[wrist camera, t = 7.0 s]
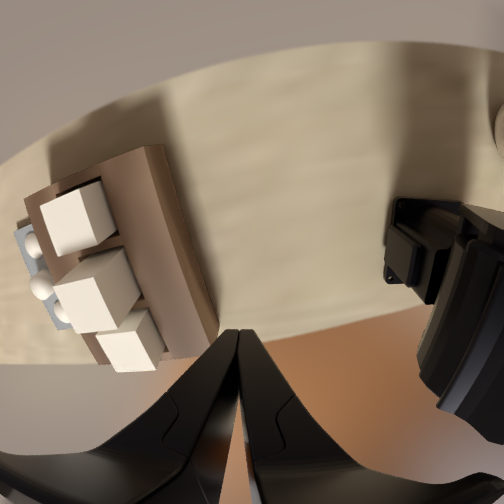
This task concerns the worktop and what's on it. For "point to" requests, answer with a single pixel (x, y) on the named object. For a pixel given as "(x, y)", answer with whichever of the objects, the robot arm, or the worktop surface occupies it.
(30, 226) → the card
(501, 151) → the plastic bottle
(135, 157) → the board
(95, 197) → the button
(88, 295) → the button middle
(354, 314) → the worktop surface
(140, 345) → the button
